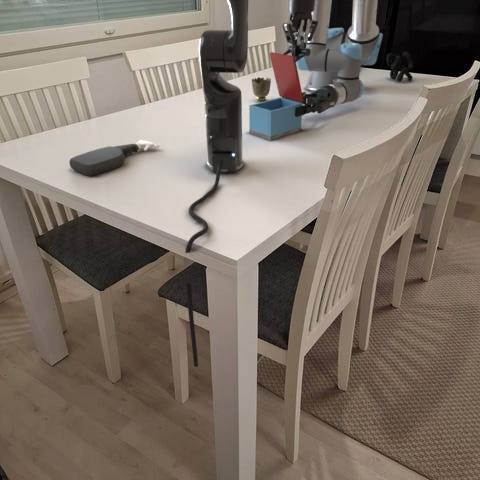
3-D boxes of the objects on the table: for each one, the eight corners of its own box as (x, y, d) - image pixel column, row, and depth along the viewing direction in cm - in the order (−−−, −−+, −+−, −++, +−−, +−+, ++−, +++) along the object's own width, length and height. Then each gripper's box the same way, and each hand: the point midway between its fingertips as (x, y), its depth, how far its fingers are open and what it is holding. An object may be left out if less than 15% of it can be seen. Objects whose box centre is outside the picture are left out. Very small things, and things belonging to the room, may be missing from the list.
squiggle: (400, 92, 202) (376, 71, 205) (417, 76, 202) (392, 56, 205) (405, 81, 191) (380, 59, 194) (423, 64, 191) (397, 42, 194)
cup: (248, 101, 174) (248, 80, 169) (256, 97, 179) (256, 76, 175) (265, 103, 171) (266, 82, 166) (273, 99, 176) (274, 78, 172)
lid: (292, 57, 129) (312, 43, 132) (269, 53, 135) (288, 40, 138) (301, 102, 139) (319, 87, 141) (279, 96, 145) (296, 82, 148)
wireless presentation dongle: (67, 168, 120) (139, 144, 136) (91, 178, 114) (163, 151, 130) (65, 157, 118) (137, 134, 134) (89, 167, 112) (162, 142, 128)
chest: (270, 140, 136) (271, 111, 132) (249, 133, 142) (249, 105, 138) (300, 130, 144) (302, 103, 139) (279, 123, 150) (280, 97, 145)
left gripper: (308, -9, 134) (304, 53, 143) (276, -7, 126) (273, 58, 135) (328, -8, 129) (322, 56, 138) (295, -6, 122) (291, 61, 131)
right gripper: (354, 113, 149) (309, 128, 136) (304, 101, 163) (260, 113, 151) (357, 90, 145) (311, 103, 132) (305, 79, 159) (260, 90, 147)
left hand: (298, 57), depth 137 cm, fingers closed on lid, 2 cm apart
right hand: (284, 108), depth 142 cm, fingers closed on chest, 10 cm apart
